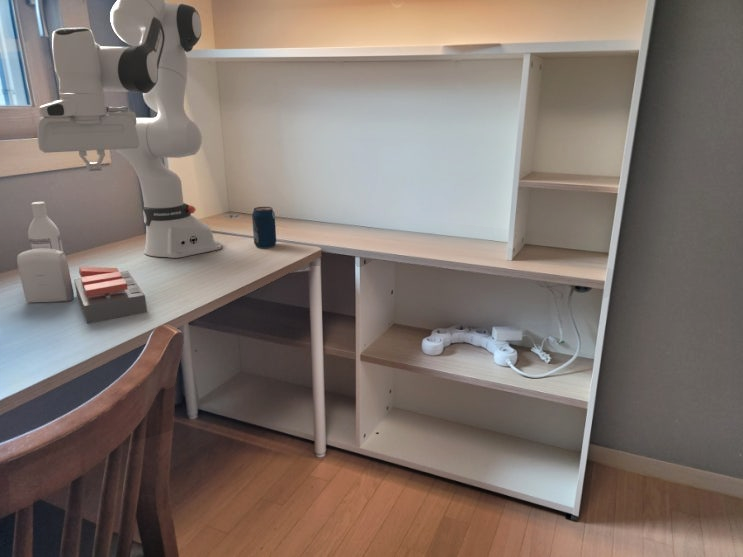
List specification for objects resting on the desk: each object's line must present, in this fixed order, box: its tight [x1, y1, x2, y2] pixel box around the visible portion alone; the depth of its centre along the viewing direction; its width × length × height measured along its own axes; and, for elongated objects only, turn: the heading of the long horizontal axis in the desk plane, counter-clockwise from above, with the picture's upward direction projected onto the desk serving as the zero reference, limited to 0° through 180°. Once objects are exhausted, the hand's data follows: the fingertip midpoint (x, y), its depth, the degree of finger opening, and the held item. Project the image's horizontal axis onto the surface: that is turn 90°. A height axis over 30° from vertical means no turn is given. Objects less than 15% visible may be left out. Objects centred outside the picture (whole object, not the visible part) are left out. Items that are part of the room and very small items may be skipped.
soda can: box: [251, 206, 277, 249], centre depth 170 cm, size 7×7×12 cm
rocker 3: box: [84, 279, 127, 297], centre depth 119 cm, size 8×4×1 cm, turn 123°
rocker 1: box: [78, 266, 120, 278], centre depth 128 cm, size 8×4×1 cm, turn 123°
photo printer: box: [16, 249, 75, 303], centre depth 125 cm, size 10×4×12 cm, turn 95°
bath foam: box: [27, 201, 64, 252], centre depth 138 cm, size 7×7×20 cm
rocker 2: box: [80, 271, 122, 287], centre depth 123 cm, size 8×4×1 cm, turn 123°
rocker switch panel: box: [73, 270, 148, 324], centre depth 125 cm, size 12×20×5 cm, turn 33°
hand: (94, 170), depth 124 cm, fingers closed
